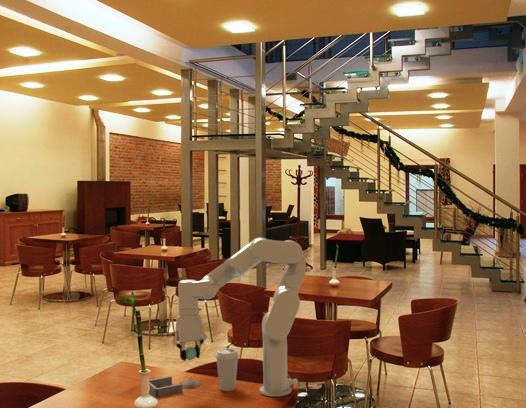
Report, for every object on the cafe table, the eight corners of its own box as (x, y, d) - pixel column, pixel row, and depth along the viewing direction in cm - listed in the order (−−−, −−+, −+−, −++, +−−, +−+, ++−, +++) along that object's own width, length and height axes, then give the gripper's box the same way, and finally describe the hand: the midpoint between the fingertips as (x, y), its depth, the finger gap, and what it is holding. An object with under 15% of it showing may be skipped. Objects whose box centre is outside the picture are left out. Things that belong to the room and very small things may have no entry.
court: (171, 383, 225) (170, 376, 225) (182, 391, 214) (182, 384, 214) (145, 388, 219) (145, 380, 219) (155, 397, 209) (155, 389, 209)
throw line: (166, 385, 223) (166, 385, 223) (175, 392, 214) (175, 392, 214) (164, 385, 222) (164, 385, 222) (173, 392, 214) (173, 392, 214)
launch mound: (199, 405, 232) (198, 372, 232) (213, 416, 220) (213, 381, 220) (168, 412, 225) (167, 378, 225) (181, 423, 213) (180, 387, 213)
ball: (193, 357, 214) (193, 344, 214) (198, 360, 210) (198, 347, 210) (181, 359, 212) (181, 346, 212) (186, 362, 207) (186, 349, 207)
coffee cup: (238, 392, 213) (238, 354, 213) (214, 392, 213) (214, 354, 213) (239, 384, 223) (239, 347, 223) (216, 384, 223) (216, 348, 223)
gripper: (204, 307, 218) (206, 352, 218) (164, 313, 210) (166, 360, 210) (212, 310, 212) (214, 357, 212) (171, 316, 203) (173, 364, 203)
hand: (190, 358), depth 211 cm, fingers closed on ball, 4 cm apart
